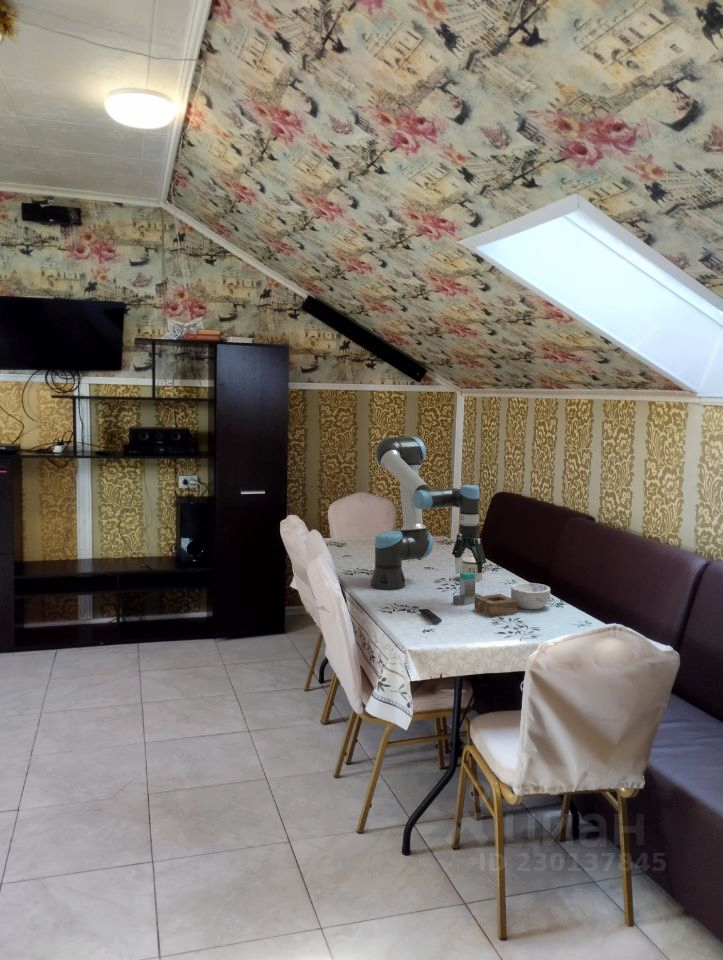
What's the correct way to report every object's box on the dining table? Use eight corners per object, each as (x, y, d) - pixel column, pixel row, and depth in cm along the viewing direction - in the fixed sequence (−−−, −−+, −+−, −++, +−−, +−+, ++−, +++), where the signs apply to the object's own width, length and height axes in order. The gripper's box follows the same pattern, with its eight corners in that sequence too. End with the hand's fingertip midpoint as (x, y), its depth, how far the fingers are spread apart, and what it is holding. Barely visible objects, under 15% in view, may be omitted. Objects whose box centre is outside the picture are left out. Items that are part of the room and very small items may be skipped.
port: (474, 609, 294) (474, 597, 293) (499, 606, 299) (500, 593, 298) (491, 617, 284) (491, 604, 283) (517, 613, 289) (517, 600, 288)
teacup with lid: (465, 582, 336) (466, 556, 335) (457, 577, 345) (458, 552, 343) (490, 581, 339) (491, 555, 338) (482, 576, 348) (482, 551, 347)
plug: (459, 602, 304) (460, 573, 302) (469, 601, 306) (470, 571, 305) (464, 604, 301) (465, 575, 299) (474, 603, 303) (475, 573, 301)
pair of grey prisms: (452, 603, 303) (453, 595, 302) (475, 600, 307) (475, 592, 307) (458, 605, 299) (458, 598, 299) (481, 602, 304) (481, 595, 304)
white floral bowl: (503, 606, 298) (503, 587, 297) (522, 599, 310) (523, 580, 309) (538, 614, 288) (538, 594, 287) (556, 606, 300) (557, 586, 299)
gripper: (444, 520, 309) (443, 571, 311) (479, 529, 287) (478, 584, 289) (459, 519, 312) (458, 569, 315) (495, 528, 290) (494, 582, 292)
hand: (468, 577), depth 302 cm, fingers open, 13 cm apart
